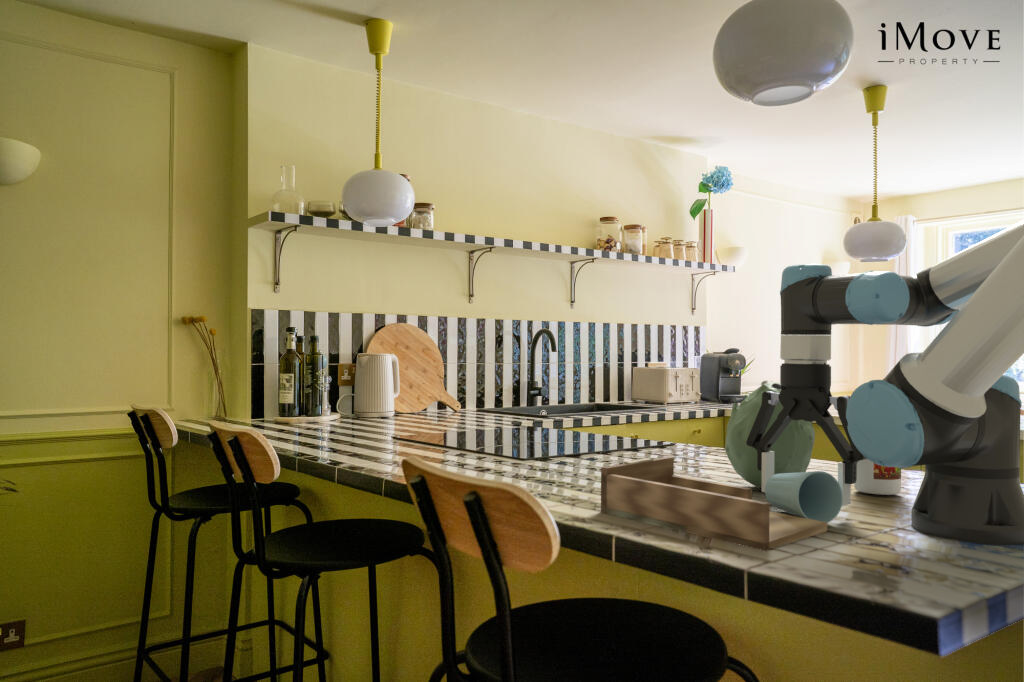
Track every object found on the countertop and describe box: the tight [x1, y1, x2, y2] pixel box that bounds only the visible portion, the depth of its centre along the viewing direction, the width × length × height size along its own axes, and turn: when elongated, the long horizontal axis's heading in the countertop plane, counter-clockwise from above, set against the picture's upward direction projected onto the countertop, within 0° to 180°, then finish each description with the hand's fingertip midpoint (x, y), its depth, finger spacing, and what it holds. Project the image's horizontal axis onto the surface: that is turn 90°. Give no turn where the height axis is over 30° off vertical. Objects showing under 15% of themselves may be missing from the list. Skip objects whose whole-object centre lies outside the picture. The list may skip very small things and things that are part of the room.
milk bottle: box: [853, 459, 902, 496], centre depth 134 cm, size 8×8×20 cm
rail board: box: [600, 456, 828, 551], centre depth 110 cm, size 28×17×8 cm, turn 41°
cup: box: [764, 470, 843, 524], centre depth 113 cm, size 8×8×10 cm
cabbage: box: [724, 379, 816, 489], centre depth 137 cm, size 16×19×20 cm
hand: (804, 497), depth 117 cm, fingers open, 12 cm apart
